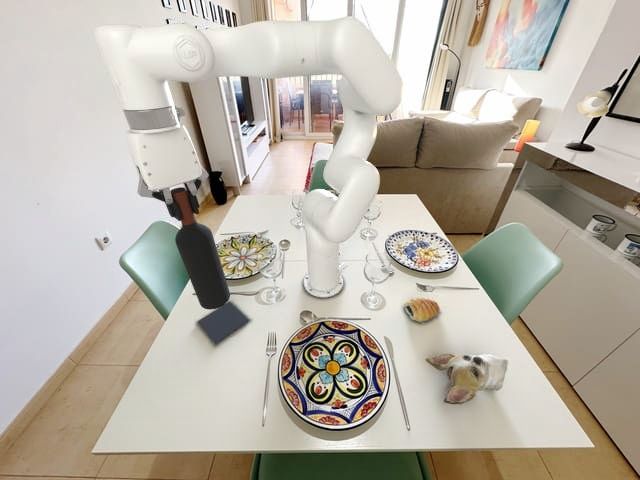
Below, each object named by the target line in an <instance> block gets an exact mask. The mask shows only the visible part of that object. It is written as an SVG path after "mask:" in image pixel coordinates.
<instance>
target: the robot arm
mask: <svg viewBox="0 0 640 480" xmlns="http://www.w3.org/2000/svg"><path fill="white" fill-rule="evenodd" d="M93 37H94V41H95V44H96V46H97V49H98V52H99V54H100V56H101V60H102V62H103V64H104V67H105V69H106V72H107V74H108V77H109V79H110V82H111V85H112V86H113V89H114V91H115V94H116V97H117V99H118V101H119V104H120V107H121V109H122V112H123V114H124V117H125V120H126V122H127V124H128V127H129V129H128V130H127V129H126V131H125V138H126V142H127V147H128V150H129V153H130V157H131V159H132V162H133V165H134V169H135V171H136V174H137V176H138V185H137V194H138V195H139V196H140V197H142V198H149V199H155V200H158V201H161V202H163V203H164V204H165V206H166V209H167V211H168V214H169V216H170V217H171V218H174V219H176V221H178V222H181V220H182V216H181V213H180V210H179V208H178V205H177V203H176V202H175V201H174V200H173V199H172V196H171V192H170V191H171V188H172V187H176V186H179V185H182V184H183V188H185V189H186V191H187V194H188V198H189V201H190V204H191V207H192V210H193V213H194V215H199V214H200V210H199V209H200V208H201V205H200V202H199V199H198V196H197V195H198V193H199V192H198V191H199V189H200V187H201V185H202V183H203V182H205V181H206V180H207V179H208V178H209V177H210V175H209V173H208V171H207V170H206V169H205V168H204V167H203V166H202V165H201V163H200V159H199V156H198V153H197V151H196V148H195V146H194V143H193V141H192V139H191V136H190V135H189V132H188V130H187V129H186V127H185V125H184V124H183V123H181V120H180V118H182V117H184V116H186V112H185V110H184V108H183V107H178V106H176V105H175V104H174V100H173V97H172V94H171V90H170V87H169V83H168V82H182V83H190V84H192V83H194V84H195V83H200V82H202V81H204V80H206V79H211V78H224V77H227V78H228V77H229V78H230V77H245V78H247V77H248V78H254V79H274V80H275V79H286V78H299V77H310V76H312V77H313V76H324V75H326V76H327V75H334V76H335V75H336V76H337V75H338V76H341V77H340V79H339V83H338V89H337V90H338V97H339V100H340V103H341V107H342V111H343V126H342V129H341V131H340V134H339V137H338V138H337V141H336V143H335V145H334V147H333V149H332V151H331V153H330V156H329V158H328V159H327V161H326V163H325V165H324V169H323V172H322V173H323V174H322V176H323V180H324V182H325V183H326V184H327V185H328V186H329V187H330V188H332V189H333V190H334V191H335V192H337V193H338V196H336V195H335V194H333V193H332V192H330V191H328V190H325V189H322V188H315V189H313V190H311V191H309V192H308V193H307V194H306V195H305V196H304V198H303V200H302V204H301V217H302V221H303V226H304V231H305V241H306V242H305V244H306V261H307V274H306V275H305V276H304V279H303V285H304V289H305V291H306V292H307V293H309V295H312V296H314V297H318V298H329V297H333V296H336V295H337V294H339V293H340V291H341V290H342V289H343V287H344V279H343V277H342V275H341V273H342V272H343V270H345V269H346V268H348V264H347V263H346V261H343V262H341V263H340V244H342V243H345V242H346V241H348V240H350V238H352V237H353V235H355V233H356V232H357V230H358V228H359V226H360V225H361V223H362V222H363V220H364V218H365V216H366V214H367V213H368V211H369V209H370V208H371V206H372V204H373V202H374V201H375V198H376V196H377V194H378V192H379V189H380V185H381V176H380V173H379V170H378V168H376V166H375V165H374V164H372V163H371V162H370V161H367V160H368V158H369V155H370V154H371V152H372V150H373V148H374V145H375V143H376V139H377V135H378V122H377V117H384V116H388V115H390V114H392V113H394V112H395V111H396V109H397V108H398V107H399V106H400V104H401V102H402V100H403V96H404V83H403V79H402V76H401V73H400V72H399V70H398V69H397V67H396V65H395V64H394V63H393V61H392V60H391V58H390V56H389V54H388V53H387V52H386V51H385V48H383V46H382V44H381V43H380V42H379V40H378V39H377V37H376V36H375V35H374V33H373V32H372V31H371V29H369V27H368V26H367V25H366V24H365V23H364V22H363V21H362V20H361V19H359V18H358V17H355V16H351V15H350V16H349V15H348V16H343V17H338V18H333V19H327V20H276V19H275V20H273V19H272V20H271V19H270V20H269V19H268V20H261V21H260V20H259V21H253V22H251V23H247V24H244V25H238V26H231V27H222V28H219V27H218V28H196V26H193V25H191V24H188V23H185V22H174V23H166V24H160V25H151V26H141V25H137V24H124V23H123V24H122V23H120V24H119V23H115V24H114V23H113V24H112V23H110V24H101V25H97V26H96V27H95V29H93Z"/></svg>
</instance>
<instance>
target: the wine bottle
mask: <svg viewBox="0 0 640 480" xmlns="http://www.w3.org/2000/svg"><path fill="white" fill-rule="evenodd" d="M170 192H171V196H172V199H173V200H174V201H175V202H176V203H177V205H178V208H179V210H180V213H181V216H182V220H181V221H180V223H181V228H180V229H179V230H178V231H177V232H176V235H175V237H174V241H175V245H176V248H177V250H178V252H179V256H180V258H181V260H182V262H183V265H184V268H185V270H186V273H187V275H188V277H189V280H190V283H191V286H192V288H193V291H194V294H195V295H196V298H197V300H198V303H199V305H200V307H201V308H203V309H204V310H209V311H210V310H217V309H218V308H220V307H222V306H223V305H225V304H226V303H228V302H229V301H230V299H231V292H230V289H229V286H228V282H227V281H228V280H227V278H226V276H225V272H224V267H223V265H222V261H221V259H220V255H219V252H218V248H217V246H216V242H215V241H216V240H215V237H214V235H213V232H212V230H211V228H210V227H208V226H207V225H205V224H202V223H199V222H198V221H197V220H196V217H195V213H193V210H192V207H191V204H190V201H189V198H188V194H187V191H186V189H185V187H184V186H183V187H181V186H180V187H175V188H172V189H170Z"/></svg>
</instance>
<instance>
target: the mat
mask: <svg viewBox="0 0 640 480" xmlns="http://www.w3.org/2000/svg"><path fill="white" fill-rule="evenodd" d="M249 321H250V320H249V319H248V318H247V316H245V315H244V314H243V313H242V312H241V311H240V310H239V308H237V307H236V306H235V305H234V304H233V303H232V302H231V301H228V302H227V303H226V304H225V305H223V306H221V307H220V308H217V309H214V310H213V311H212V312H210V313H208V314H207V315H205V316H204V317H202V318H201V319H199V320H197V323H198V325H199V326H200V328H202V330H203V331H204V332H205V333H206V334H207V335H208V337H209V338H210V340H211V341H212V342H213V343H214V344H215V345H217V344H219V343H220V342H221V341H223V340H224V339H226V338H227V337H228V336H231V334H233V333H235V332H236V331H237V330H239V329H240V328H241V327H243V326H244V325H246V324H247V323H248V322H249Z"/></svg>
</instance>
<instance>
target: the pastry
mask: <svg viewBox="0 0 640 480" xmlns="http://www.w3.org/2000/svg"><path fill="white" fill-rule="evenodd" d="M403 307H404V311H405V312H406V313H407V315H409V318H410V319H411V320H412V321H415V322H418V323H419V322H420V323H421V322H426V321H428V320H430V319H433V318H434V317H435V316H437V315H439V312H440V306H439V304H438V302H437V301H434V300H433V299H428V298H423V297H422V298H418V297H417V298H415V299H414V298H411V299H409V301H407V302H404V304H403Z"/></svg>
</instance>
